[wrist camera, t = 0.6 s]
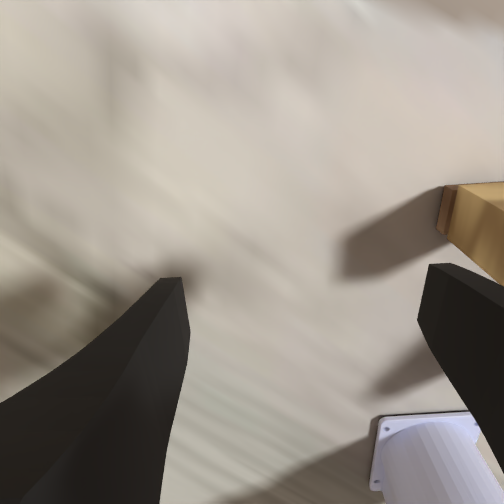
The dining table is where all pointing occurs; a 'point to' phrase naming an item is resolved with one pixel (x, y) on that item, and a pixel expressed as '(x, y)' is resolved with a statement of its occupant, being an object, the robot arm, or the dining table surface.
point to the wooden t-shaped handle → (476, 223)
